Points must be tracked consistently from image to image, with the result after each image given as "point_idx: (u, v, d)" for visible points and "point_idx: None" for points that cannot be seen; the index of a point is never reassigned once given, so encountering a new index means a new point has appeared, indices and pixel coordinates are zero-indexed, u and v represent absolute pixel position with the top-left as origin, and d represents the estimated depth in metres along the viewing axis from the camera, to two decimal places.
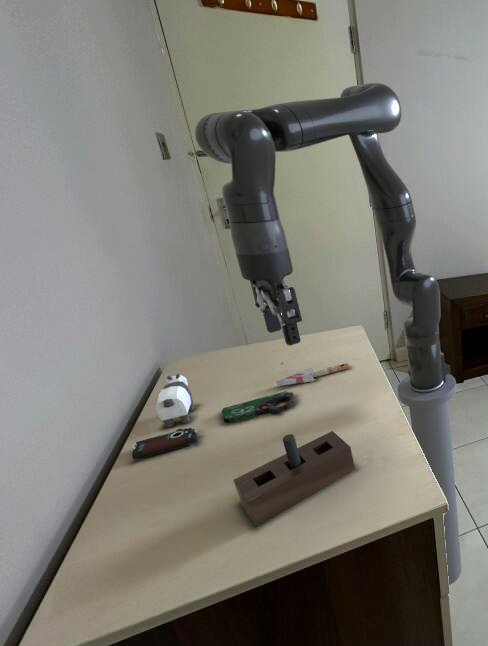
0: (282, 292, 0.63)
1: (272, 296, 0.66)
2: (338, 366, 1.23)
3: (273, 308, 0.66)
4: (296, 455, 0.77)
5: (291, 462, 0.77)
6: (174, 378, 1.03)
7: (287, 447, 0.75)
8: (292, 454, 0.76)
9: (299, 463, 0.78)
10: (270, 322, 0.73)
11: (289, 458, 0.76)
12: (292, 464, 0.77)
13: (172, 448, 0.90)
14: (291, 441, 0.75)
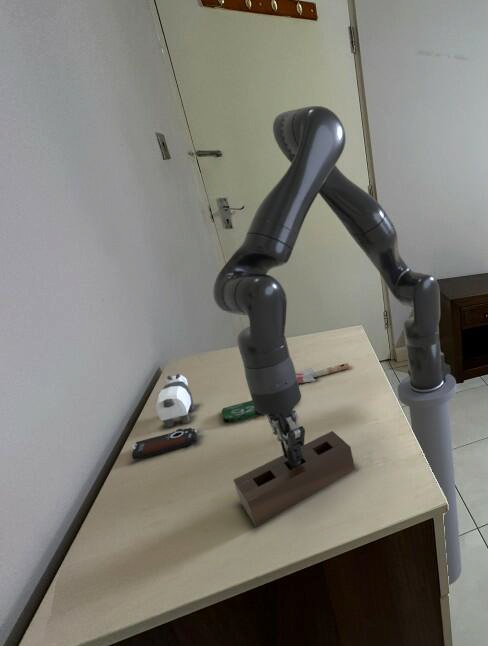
0: (293, 436, 0.70)
1: (282, 425, 0.71)
2: (338, 366, 1.23)
3: (281, 437, 0.72)
4: None
5: None
6: (174, 378, 1.03)
7: None
8: None
9: (299, 463, 0.78)
10: None
11: None
12: (292, 464, 0.77)
13: (172, 448, 0.90)
14: None
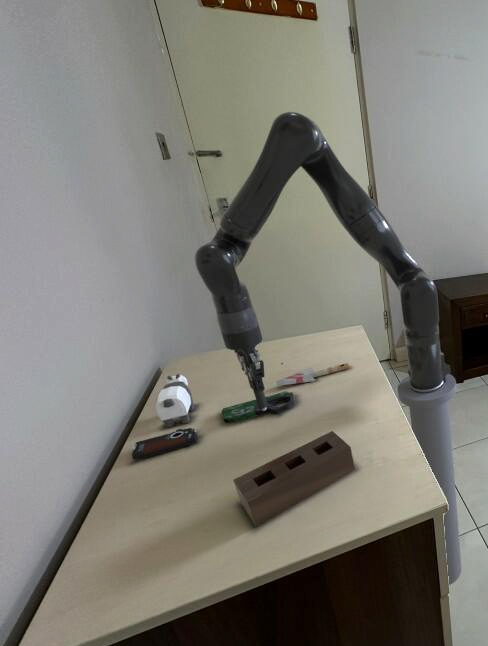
0: (254, 366, 0.92)
1: (246, 360, 0.94)
2: (338, 366, 1.23)
3: (246, 369, 0.95)
4: None
5: None
6: (174, 378, 1.03)
7: None
8: None
9: None
10: None
11: (252, 386, 0.98)
12: None
13: (172, 448, 0.90)
14: None
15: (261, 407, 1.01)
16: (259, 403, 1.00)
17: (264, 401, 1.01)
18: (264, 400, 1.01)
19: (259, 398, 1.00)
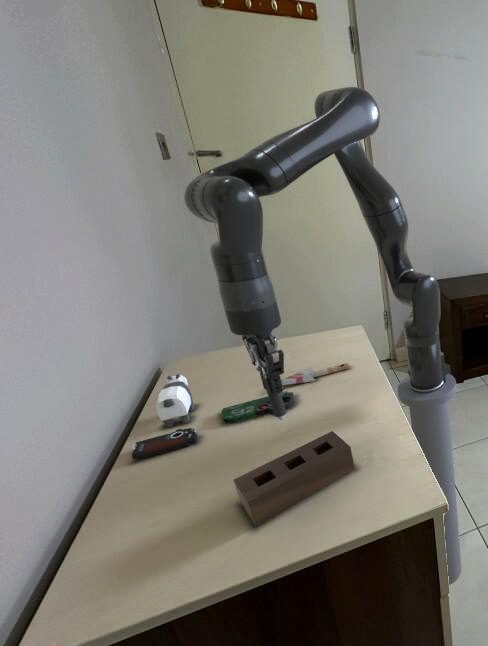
0: (271, 358, 0.65)
1: (260, 349, 0.67)
2: (338, 366, 1.23)
3: (259, 363, 0.68)
4: None
5: None
6: (174, 378, 1.03)
7: None
8: None
9: None
10: None
11: None
12: None
13: (172, 448, 0.90)
14: None
15: (278, 415, 0.74)
16: (275, 410, 0.73)
17: (282, 407, 0.74)
18: (282, 405, 0.74)
19: (275, 402, 0.73)
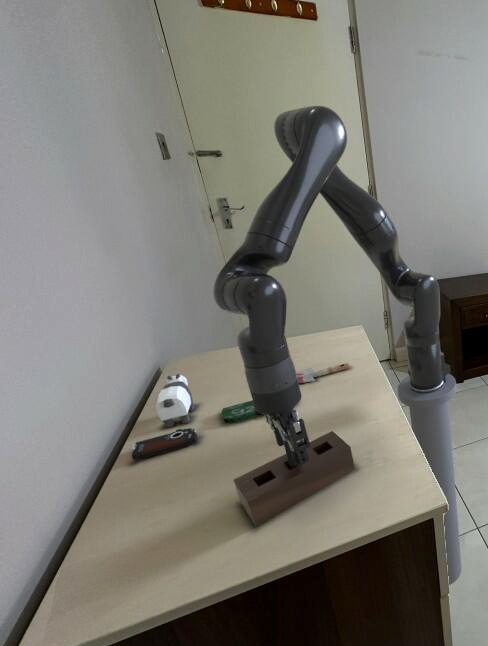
0: (292, 426, 0.69)
1: (282, 425, 0.71)
2: (338, 366, 1.23)
3: (284, 436, 0.71)
4: None
5: (290, 462, 0.77)
6: (174, 378, 1.03)
7: (287, 447, 0.75)
8: (292, 454, 0.76)
9: None
10: (280, 437, 0.78)
11: (289, 458, 0.76)
12: (292, 465, 0.77)
13: (172, 448, 0.90)
14: None
15: None
16: None
17: None
18: None
19: None
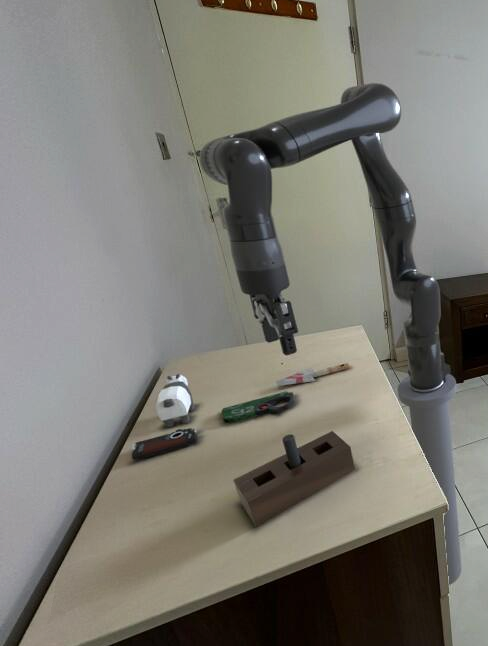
0: (279, 306, 0.67)
1: (269, 309, 0.70)
2: (338, 366, 1.23)
3: (271, 320, 0.69)
4: (296, 455, 0.77)
5: (290, 462, 0.77)
6: (174, 378, 1.03)
7: (287, 447, 0.75)
8: (292, 454, 0.76)
9: (299, 463, 0.78)
10: (268, 332, 0.77)
11: (289, 458, 0.76)
12: (292, 465, 0.77)
13: (172, 448, 0.89)
14: (290, 441, 0.75)
15: None
16: None
17: None
18: None
19: None
